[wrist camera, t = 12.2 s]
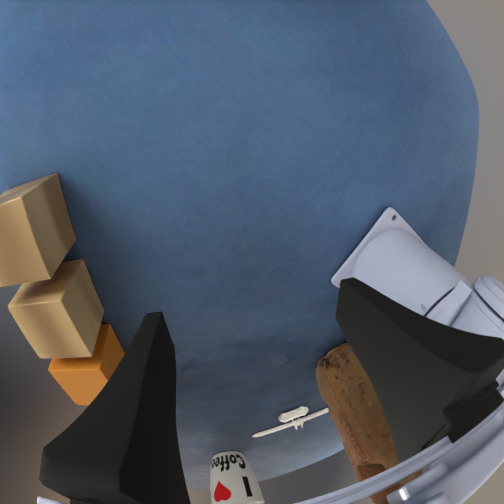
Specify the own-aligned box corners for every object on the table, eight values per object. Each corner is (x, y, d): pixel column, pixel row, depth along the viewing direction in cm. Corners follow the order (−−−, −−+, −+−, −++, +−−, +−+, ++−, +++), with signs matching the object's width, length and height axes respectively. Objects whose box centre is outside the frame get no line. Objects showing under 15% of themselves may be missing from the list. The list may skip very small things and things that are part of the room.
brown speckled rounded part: (400, 319, 29) (496, 454, 12) (382, 361, 32) (454, 482, 15) (315, 342, 27) (402, 523, 10) (306, 383, 31) (367, 532, 14)
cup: (250, 444, 37) (264, 498, 29) (252, 458, 41) (264, 505, 33) (199, 451, 36) (208, 506, 28) (208, 465, 40) (216, 512, 32)
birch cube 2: (83, 257, 18) (60, 300, 14) (105, 310, 21) (92, 357, 16) (33, 267, 17) (6, 306, 13) (57, 316, 20) (39, 358, 16)
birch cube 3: (58, 172, 15) (21, 196, 11) (77, 239, 17) (51, 279, 13) (6, 190, 14) (-32, 217, 10) (26, 250, 17) (-3, 288, 12)
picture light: (252, 435, 36) (255, 447, 34) (242, 425, 33) (245, 438, 31) (342, 401, 36) (348, 413, 34) (340, 389, 33) (346, 401, 32)
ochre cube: (110, 323, 21) (99, 369, 17) (129, 361, 24) (125, 404, 19) (63, 327, 20) (47, 370, 16) (85, 364, 23) (76, 404, 19)
